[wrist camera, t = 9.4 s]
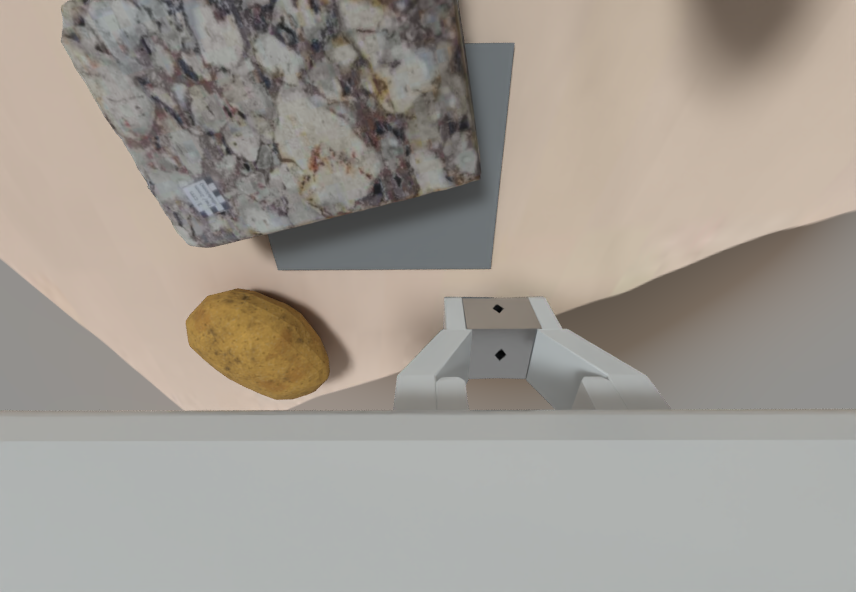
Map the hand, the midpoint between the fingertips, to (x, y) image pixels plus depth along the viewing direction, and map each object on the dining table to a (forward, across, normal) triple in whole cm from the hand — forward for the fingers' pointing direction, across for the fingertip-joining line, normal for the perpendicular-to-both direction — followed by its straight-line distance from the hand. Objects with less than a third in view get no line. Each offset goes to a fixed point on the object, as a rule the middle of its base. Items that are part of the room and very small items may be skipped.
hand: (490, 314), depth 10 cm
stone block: (+15, 0, -7) cm, 17 cm away
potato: (+18, +17, +14) cm, 29 cm away
